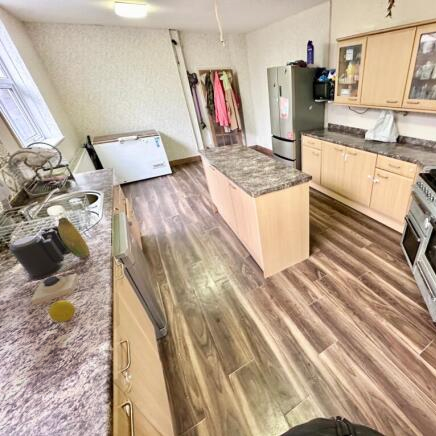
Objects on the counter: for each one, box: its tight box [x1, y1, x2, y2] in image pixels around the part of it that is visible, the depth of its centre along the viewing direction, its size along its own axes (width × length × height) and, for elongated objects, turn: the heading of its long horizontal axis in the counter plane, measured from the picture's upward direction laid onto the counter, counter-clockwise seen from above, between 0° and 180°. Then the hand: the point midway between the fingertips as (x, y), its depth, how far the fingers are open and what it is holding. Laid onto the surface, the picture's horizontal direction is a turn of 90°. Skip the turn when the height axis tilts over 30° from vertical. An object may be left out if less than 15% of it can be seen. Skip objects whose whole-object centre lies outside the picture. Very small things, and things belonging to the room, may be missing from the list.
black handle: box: [40, 225, 72, 256], centre depth 105 cm, size 12×9×12 cm
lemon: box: [48, 299, 76, 323], centre depth 72 cm, size 6×6×8 cm
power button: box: [42, 275, 59, 287], centre depth 84 cm, size 4×4×2 cm
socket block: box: [30, 272, 80, 306], centre depth 85 cm, size 11×9×4 cm
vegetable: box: [57, 216, 90, 259], centre depth 98 cm, size 6×6×20 cm
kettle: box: [8, 235, 65, 282], centre depth 92 cm, size 12×10×16 cm
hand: (3, 213), depth 90 cm, fingers open, 8 cm apart
